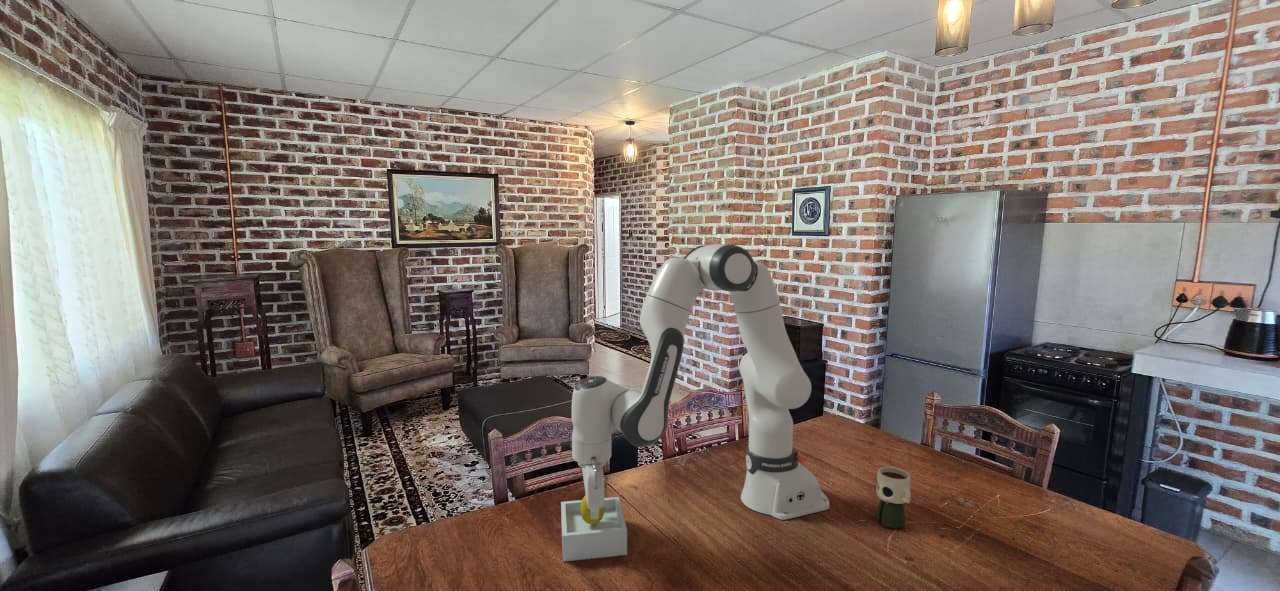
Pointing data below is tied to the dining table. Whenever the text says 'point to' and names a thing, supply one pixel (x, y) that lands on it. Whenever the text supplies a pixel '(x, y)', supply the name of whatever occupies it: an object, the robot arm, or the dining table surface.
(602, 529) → the white open box
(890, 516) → the character mug
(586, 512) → the lemon
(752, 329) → the robot arm
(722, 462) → the dining table surface
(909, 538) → the dining table surface
